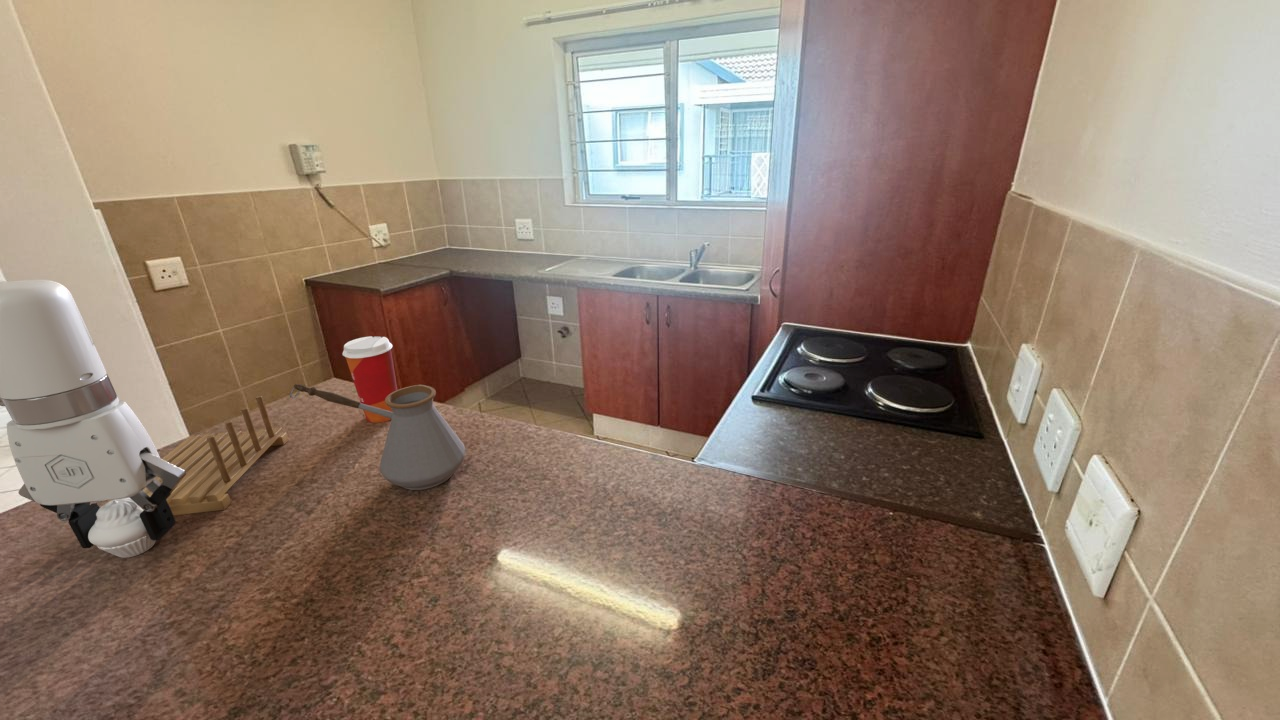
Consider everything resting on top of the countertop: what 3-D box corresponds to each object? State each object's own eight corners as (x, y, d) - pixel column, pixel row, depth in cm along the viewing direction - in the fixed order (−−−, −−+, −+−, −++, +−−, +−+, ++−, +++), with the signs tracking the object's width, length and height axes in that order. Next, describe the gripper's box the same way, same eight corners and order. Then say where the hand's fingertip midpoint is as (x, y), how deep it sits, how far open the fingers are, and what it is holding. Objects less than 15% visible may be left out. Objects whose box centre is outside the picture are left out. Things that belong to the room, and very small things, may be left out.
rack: (103, 523, 64) (70, 460, 61) (194, 448, 81) (172, 396, 77) (224, 510, 66) (199, 448, 63) (288, 440, 83) (271, 388, 79)
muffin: (165, 554, 59) (142, 505, 56) (93, 576, 56) (66, 525, 53) (175, 524, 64) (155, 478, 61) (110, 542, 61) (85, 495, 58)
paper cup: (377, 404, 94) (360, 334, 89) (414, 406, 93) (400, 335, 88) (349, 424, 87) (329, 349, 82) (389, 427, 86) (372, 351, 81)
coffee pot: (477, 451, 79) (462, 363, 73) (454, 497, 68) (435, 398, 62) (339, 455, 78) (314, 367, 72) (295, 503, 67) (261, 403, 62)
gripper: (-77, 425, 48) (14, 570, 54) (131, 409, 50) (193, 549, 57) (2, 391, 54) (74, 523, 61) (181, 379, 57) (231, 507, 64)
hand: (130, 534), depth 59 cm, fingers closed on muffin, 6 cm apart
